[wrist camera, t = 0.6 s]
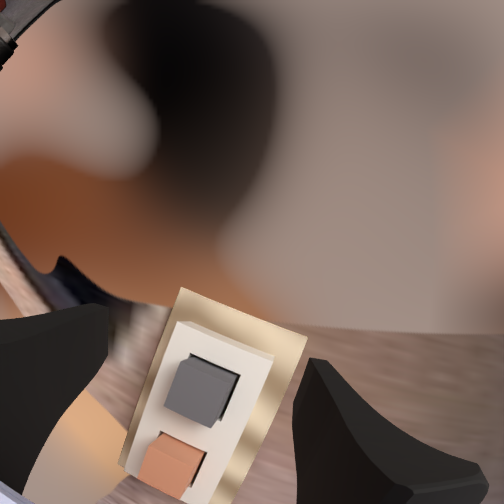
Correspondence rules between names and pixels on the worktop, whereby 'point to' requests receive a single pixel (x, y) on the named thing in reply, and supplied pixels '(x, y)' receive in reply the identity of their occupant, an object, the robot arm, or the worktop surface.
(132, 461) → the plunger panel
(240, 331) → the birch board
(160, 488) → the terracotta plunger
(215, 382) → the grey cube
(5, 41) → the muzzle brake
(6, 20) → the coffeepot
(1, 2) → the plant pot
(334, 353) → the worktop surface
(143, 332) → the worktop surface
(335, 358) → the worktop surface
